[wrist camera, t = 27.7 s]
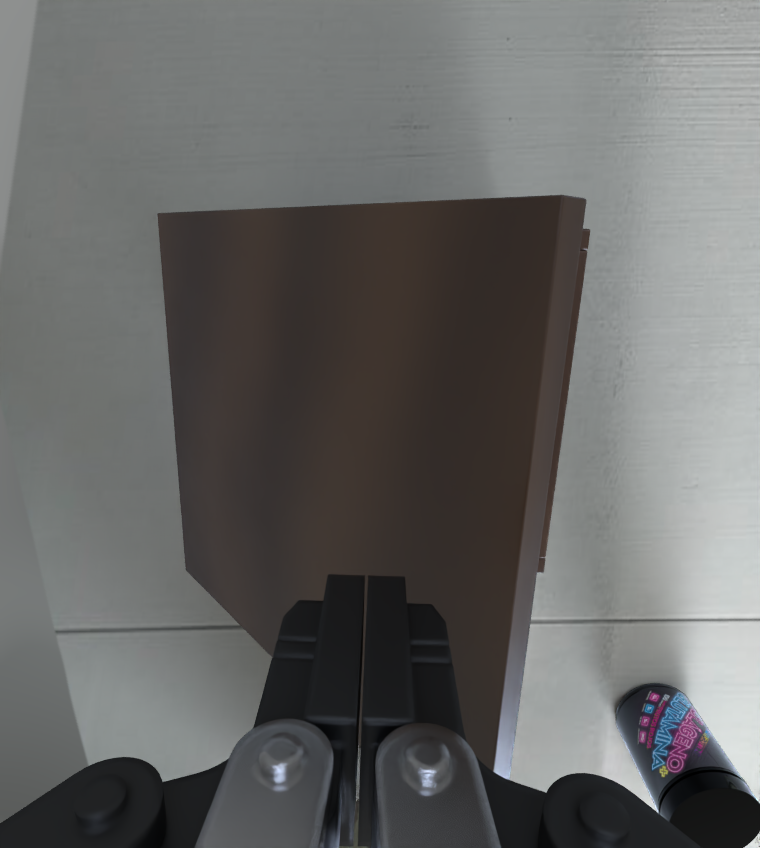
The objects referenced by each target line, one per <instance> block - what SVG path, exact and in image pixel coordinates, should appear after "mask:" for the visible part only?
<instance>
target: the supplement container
mask: <svg viewBox="0 0 760 848" xmlns="http://www.w3.org/2000/svg"><path fill="white" fill-rule="evenodd" d="M616 725H617V728H618V730H619V732H620V735H621V737H622V739H623V741H624V743H625V745H626V747H627V749H628V751H629V753H630V755H631V757H632V759H633V761H634V763H635V765H636V767H637V770H638V772H639V774H640V776H641V778H642V780H643V782H644V784H645V786H646V788H647V790H648V792H649V794H650V796H651V798H652V800H653V802H654V805H655V807H656V809H657V811H658V813H659V814H660V815H661V816H662V817H664V818H665V819H666V820H667V821H669V822H670V823H671V824H673V825H674V826H675V827H676V828H678V829H679V830H680V831H681V832H683V833H684V834H685V835H687V836H688V837H689V838H690V839H692V840H693V841H694V842H695V843H697V844H698V845H699V846H700V847H702V848H743V847H745V846H746V845H748V844H749V843H750V842H751V841H752V840H753V839H754V838H755V837H756V836H757V835H758V833H759V832H760V803H759V802H758V800H757V799H756V797H755V796H754V794H753V793H752V792H751V790H750V788H749V786H748V785H747V783H746V782H745V781H744V779H743V778H742V777H741V776H740V775H739V773H738V772H737V770H736V769H735V767H734V766H733V764H732V763H731V761H730V760H729V758H728V757H727V755H726V754H725V752H724V751H723V749H722V748H721V746H720V745H719V743H718V742H717V740H716V739H715V737H714V736H713V734H712V733H711V732H710V730H709V729H708V727H707V726H706V724H705V723H704V721H703V720H702V718H701V717H700V715H699V714H698V712H697V711H696V709H695V708H694V706H693V705H692V703H691V702H690V700H689V699H688V697H687V696H686V695H685V694H684V693H683V692H681V691H680V690H678V689H677V688H675V687H672V686H670V685H666V684H660V683H651V684H645V685H642V686H639V687H637V688H635V689H633V690H631V691H630V692H628V693H627V694H626V695H625V696H624V697H623V699H622V700H621V701H620V703H619V705H618V707H617V711H616Z"/></svg>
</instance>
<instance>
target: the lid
mask: <svg viewBox="0 0 760 848" xmlns="http://www.w3.org/2000/svg"><path fill="white" fill-rule="evenodd" d="M585 207H586V199H584V198H579V197H572V196H566V195H550V196H528V197H505V198H483V199H461V200H439V201H417V202H395V203H373V204H350V205H328V206H306V207H284V208H262V209H240V210H217V211H195V212H173V213H158V226H159V238H160V251H161V263H162V276H163V289H164V301H165V314H166V326H167V339H168V351H169V364H170V377H171V389H172V402H173V414H174V427H175V440H176V452H177V465H178V477H179V490H180V502H181V515H182V528H183V540H184V553H185V565H186V571H187V572H188V573H189V574H190V575H191V576H192V577H193V578H194V579H195V580H196V581H197V582H198V583H199V584H200V585H201V586H202V587H203V588H204V589H205V590H206V591H207V592H208V593H209V594H210V595H211V596H212V597H213V598H214V599H215V600H216V601H217V602H218V603H219V604H220V605H221V606H222V607H223V608H224V609H225V610H226V611H227V612H228V613H229V614H230V615H231V616H232V617H233V618H234V619H235V620H236V621H237V622H238V623H239V624H240V625H241V626H242V627H243V628H244V629H245V630H246V631H247V632H248V633H249V634H250V635H251V636H252V637H253V638H254V639H255V640H256V641H257V642H258V644H259V645H260V646H261V647H262V648H263V649H264V650H265V651H266V652H267V653H268V654H269V655H270V656H271V657H272V658H273V653H274V650H275V646H276V642H277V641H278V635H279V631H280V627H281V624H282V620H283V617H284V615H285V614H286V613H287V612H288V611H289V610H290V609H291V608H292V607H293V606H294V605H295V604H296V603H297V601H298V600H317V601H323V600H324V594H325V588H326V582H327V576H328V574H338V575H365V592H364V626H363V657H362V680H361V700H360V720H359V740H358V745H359V746H360V747H361V724H362V701H363V679H364V657H365V634H366V612H367V590H368V575H373V576H404V577H405V583H406V598H407V603H414V604H432V605H433V606H434V607H435V609H436V610H437V611H438V612H439V614H440V615H441V616H442V618H443V619H444V620H445V621H446V626H447V632H448V638H449V646H450V650H451V656H452V664H453V668H454V674H455V680H456V686H457V692H458V698H459V704H460V710H461V716H462V722H463V728H464V733H465V737H466V740H467V742H468V744H469V746H470V747H471V748H472V750H473V752H474V754H475V755H476V756H477V758H478V759H479V760H480V761H481V762H482V763H483V764H484V765H485V766H487V767H488V768H489V769H490V770H492V771H493V772H495V773H496V774H498V775H500V776H502V777H503V778H505V779H508V780H509V778H510V771H511V763H512V756H513V748H514V741H515V733H516V726H517V718H518V711H519V703H520V696H521V688H522V681H523V673H524V666H525V658H526V651H527V643H528V636H529V628H530V621H531V613H532V606H533V598H534V591H535V583H536V576H537V568H538V561H539V553H540V545H541V538H542V530H543V523H544V515H545V508H546V500H547V493H548V485H549V478H550V470H551V463H552V455H553V448H554V440H555V433H556V425H557V418H558V410H559V403H560V395H561V388H562V380H563V373H564V365H565V358H566V350H567V343H568V335H569V328H570V320H571V313H572V305H573V298H574V290H575V283H576V275H577V268H578V260H579V253H580V245H581V238H582V230H583V222H584V215H585Z"/></svg>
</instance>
